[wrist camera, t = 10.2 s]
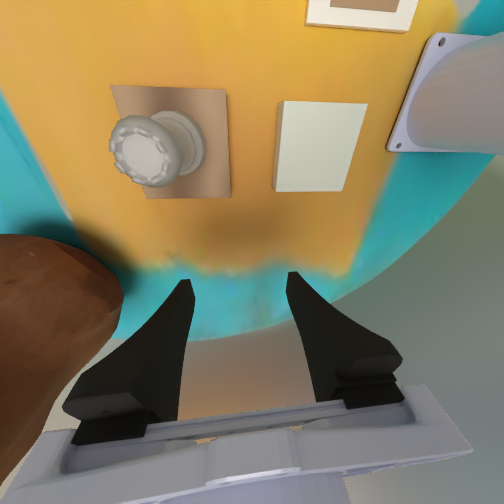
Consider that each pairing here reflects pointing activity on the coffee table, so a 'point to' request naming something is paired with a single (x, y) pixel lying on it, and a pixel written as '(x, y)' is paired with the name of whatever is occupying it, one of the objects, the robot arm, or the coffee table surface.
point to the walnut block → (211, 125)
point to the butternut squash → (46, 331)
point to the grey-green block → (315, 145)
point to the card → (362, 14)
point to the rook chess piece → (157, 147)
